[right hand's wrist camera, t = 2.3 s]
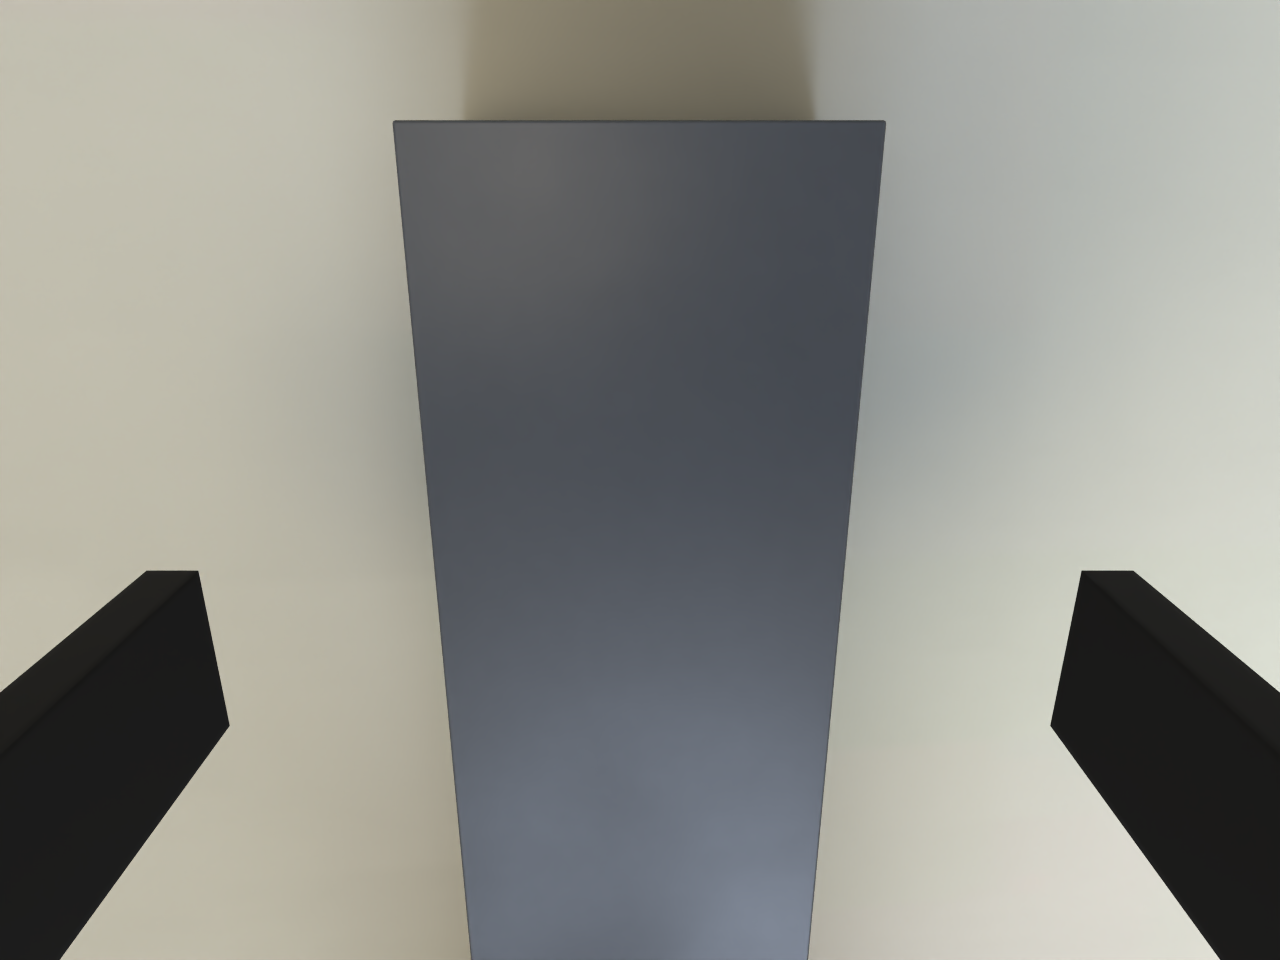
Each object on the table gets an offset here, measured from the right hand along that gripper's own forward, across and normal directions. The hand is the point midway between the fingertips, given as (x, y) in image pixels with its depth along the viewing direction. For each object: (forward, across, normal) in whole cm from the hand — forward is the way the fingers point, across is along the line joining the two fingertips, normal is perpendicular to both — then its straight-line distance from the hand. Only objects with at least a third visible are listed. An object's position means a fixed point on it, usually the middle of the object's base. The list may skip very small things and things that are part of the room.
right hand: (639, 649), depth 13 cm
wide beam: (+14, 0, -22) cm, 26 cm away
